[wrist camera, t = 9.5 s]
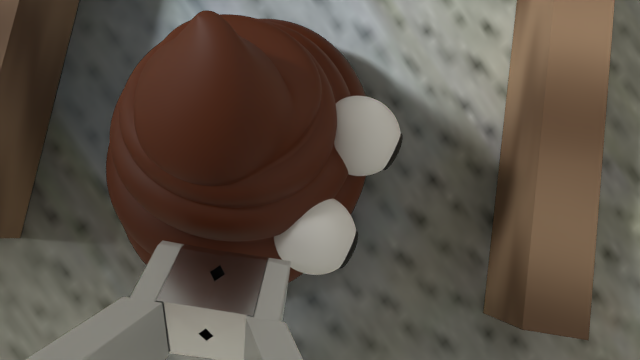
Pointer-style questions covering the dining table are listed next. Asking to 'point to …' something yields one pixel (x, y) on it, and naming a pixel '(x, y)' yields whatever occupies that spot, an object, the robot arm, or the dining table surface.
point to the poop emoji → (246, 143)
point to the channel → (515, 159)
